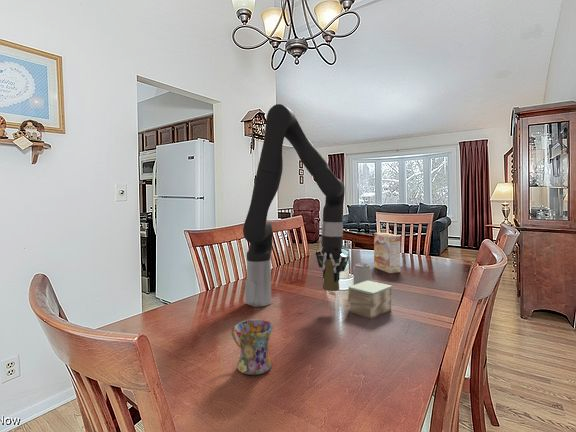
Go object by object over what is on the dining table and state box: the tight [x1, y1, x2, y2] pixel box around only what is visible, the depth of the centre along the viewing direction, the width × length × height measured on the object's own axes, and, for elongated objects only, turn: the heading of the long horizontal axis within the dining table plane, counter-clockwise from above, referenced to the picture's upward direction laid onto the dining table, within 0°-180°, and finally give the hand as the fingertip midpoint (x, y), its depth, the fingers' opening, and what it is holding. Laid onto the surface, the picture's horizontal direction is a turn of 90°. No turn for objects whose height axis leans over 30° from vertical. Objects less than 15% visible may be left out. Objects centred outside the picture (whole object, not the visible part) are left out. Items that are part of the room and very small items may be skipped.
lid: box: [348, 280, 393, 295], centre depth 121 cm, size 12×10×1 cm
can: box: [352, 262, 372, 285], centre depth 143 cm, size 8×8×12 cm
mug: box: [230, 318, 274, 376], centre depth 83 cm, size 12×9×11 cm
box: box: [347, 288, 392, 320], centre depth 121 cm, size 12×10×8 cm
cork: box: [322, 259, 340, 292], centre depth 121 cm, size 6×6×11 cm
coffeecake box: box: [373, 232, 402, 274], centre depth 182 cm, size 15×7×20 cm, turn 17°
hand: (331, 280), depth 122 cm, fingers closed on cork, 4 cm apart
